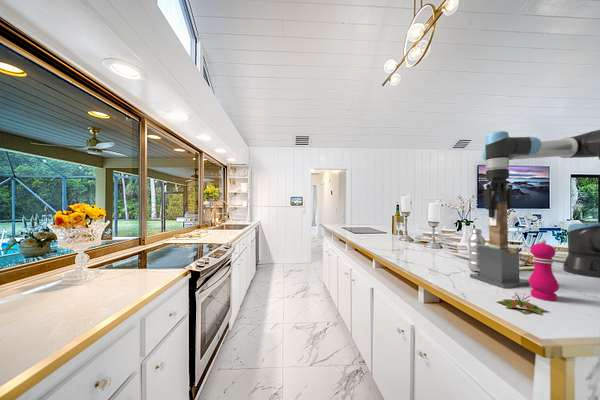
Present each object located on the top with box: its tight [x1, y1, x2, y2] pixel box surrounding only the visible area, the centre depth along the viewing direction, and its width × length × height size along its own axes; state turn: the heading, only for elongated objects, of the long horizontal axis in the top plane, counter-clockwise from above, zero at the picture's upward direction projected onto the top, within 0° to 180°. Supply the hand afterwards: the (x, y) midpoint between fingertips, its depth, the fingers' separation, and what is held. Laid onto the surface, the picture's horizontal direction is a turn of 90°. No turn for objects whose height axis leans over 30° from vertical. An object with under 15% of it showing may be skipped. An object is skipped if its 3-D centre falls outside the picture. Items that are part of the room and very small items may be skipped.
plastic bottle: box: [467, 228, 486, 273], centre depth 114 cm, size 6×7×20 cm
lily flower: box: [495, 292, 550, 316], centre depth 74 cm, size 12×12×5 cm
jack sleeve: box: [469, 245, 531, 289], centre depth 99 cm, size 14×14×14 cm
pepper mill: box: [528, 238, 560, 302], centre depth 82 cm, size 7×7×20 cm
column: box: [488, 201, 509, 249], centre depth 99 cm, size 4×4×25 cm
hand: (498, 225), depth 100 cm, fingers closed on column, 4 cm apart
